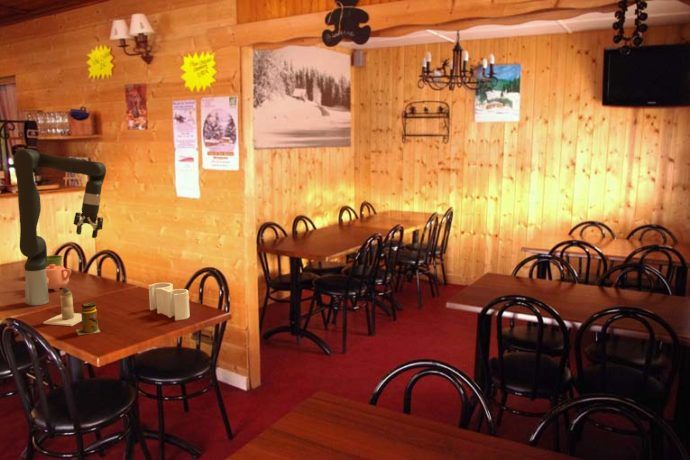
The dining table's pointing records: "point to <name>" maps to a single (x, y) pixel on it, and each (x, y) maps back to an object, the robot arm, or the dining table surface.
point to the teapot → (57, 277)
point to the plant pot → (54, 260)
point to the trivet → (60, 321)
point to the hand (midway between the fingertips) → (86, 236)
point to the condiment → (88, 319)
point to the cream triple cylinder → (169, 300)
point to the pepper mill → (66, 304)
